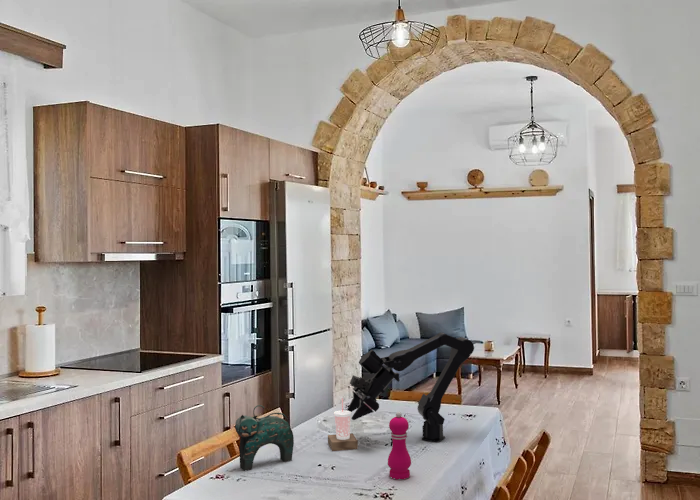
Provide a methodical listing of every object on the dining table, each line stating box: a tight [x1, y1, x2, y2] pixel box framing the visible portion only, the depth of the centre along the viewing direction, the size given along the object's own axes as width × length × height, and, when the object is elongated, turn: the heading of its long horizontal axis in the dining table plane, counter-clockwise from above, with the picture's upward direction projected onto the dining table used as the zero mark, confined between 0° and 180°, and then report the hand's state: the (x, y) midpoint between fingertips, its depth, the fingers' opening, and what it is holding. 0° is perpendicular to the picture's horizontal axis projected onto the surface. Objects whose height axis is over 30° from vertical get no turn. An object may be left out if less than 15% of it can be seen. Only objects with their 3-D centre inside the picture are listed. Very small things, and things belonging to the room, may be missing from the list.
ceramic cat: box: [234, 404, 295, 472], centre depth 237 cm, size 20×6×20 cm, turn 122°
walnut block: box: [327, 432, 359, 452], centre depth 255 cm, size 9×9×3 cm
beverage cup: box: [333, 397, 352, 440], centre depth 255 cm, size 6×6×14 cm
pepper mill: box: [387, 411, 412, 480], centre depth 224 cm, size 7×7×20 cm
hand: (349, 415), depth 255 cm, fingers open, 9 cm apart
